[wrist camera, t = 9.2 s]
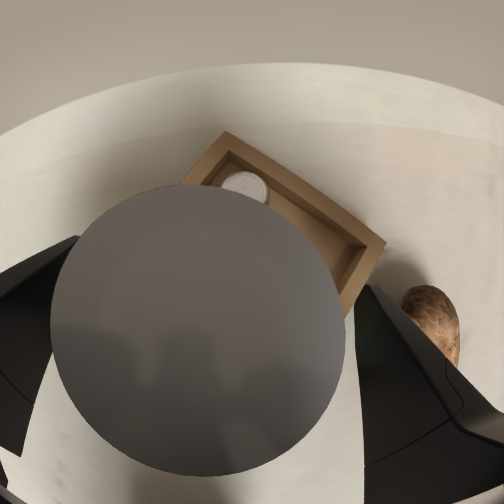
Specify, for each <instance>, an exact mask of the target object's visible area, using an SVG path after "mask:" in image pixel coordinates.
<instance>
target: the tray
mask: <svg viewBox="0 0 504 504" xmlns="http://www.w3.org/2000/svg"><path fill="white" fill-rule="evenodd" d="M238 171H248V172H252V173H255V174H257V175H258V176H260V177H261V178H262V179H263V180H264V181H265V182H266V184H267V186H268V188H269V191H270V204H269V207H270V208H272V209H274V210H275V211H277V212H278V213H279V214H281V215H282V216H283V217H285V218H286V219H287V220H288V221H290V222H291V223H292V224H293V225H294V226H295V227H296V228H297V229H298V230H299V231H300V232H301V233H302V234H303V235H304V236H305V237H306V238H307V239H308V240H309V241H310V243H311V244H312V245H313V246H314V248H315V249H316V250H317V252H318V253H319V254H320V256H321V258H322V259H323V261H324V263H325V265H326V266H327V268H328V270H329V272H330V273H331V276H332V278H333V281H334V283H335V286H336V288H337V291H338V294H339V297H340V301H341V305H342V309H343V315H344V319H345V317H346V315H347V314H348V312H349V310H350V309H351V307H352V305H353V304H354V302H355V300H356V299H357V297H358V295H359V293H360V292H361V290H362V288H363V286H364V285H365V283H366V281H367V279H368V278H369V276H370V274H371V272H372V270H373V268H374V267H375V265H376V263H377V261H378V259H379V257H380V255H381V253H382V251H383V249H384V247H385V245H386V242H385V241H384V240H383V239H382V238H380V237H379V236H378V235H377V234H375V233H374V232H373V231H372V230H370V229H369V228H368V227H367V226H365V225H364V224H363V223H361V222H360V221H359V220H358V219H356V218H355V217H354V216H352V215H351V214H350V213H348V212H347V211H346V210H344V209H343V208H342V207H340V206H339V205H338V204H336V203H335V202H333V201H332V200H331V199H329V198H328V197H327V196H325V195H324V194H322V193H321V192H320V191H318V190H317V189H315V188H314V187H312V186H311V185H310V184H308V183H307V182H305V181H304V180H302V179H301V178H299V177H298V176H296V175H295V174H293V173H292V172H290V171H289V170H287V169H286V168H284V167H283V166H281V165H280V164H278V163H277V162H275V161H274V160H272V159H271V158H269V157H267V156H266V155H264V154H263V153H261V152H259V151H258V150H256V149H255V148H253V147H251V146H250V145H248V144H246V143H245V142H243V141H241V140H240V139H238V138H236V137H235V136H233V135H231V134H230V133H228V132H226V131H225V132H224V133H223V134H222V135H221V136H220V137H219V138H218V140H217V141H216V142H215V143H214V144H213V145H212V146H211V147H210V148H209V150H208V151H207V152H206V153H205V154H204V155H203V156H202V158H201V159H200V160H199V161H198V162H197V163H196V164H195V166H194V167H193V168H192V169H191V170H190V172H189V173H188V174H187V175H186V176H185V178H184V179H183V180H182V181H181V182H180V184H179V185H204V186H212V187H219V185H220V184H221V182H222V181H223V180H224V179H225V178H226V177H227V176H229V175H230V174H232V173H235V172H238Z"/></svg>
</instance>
